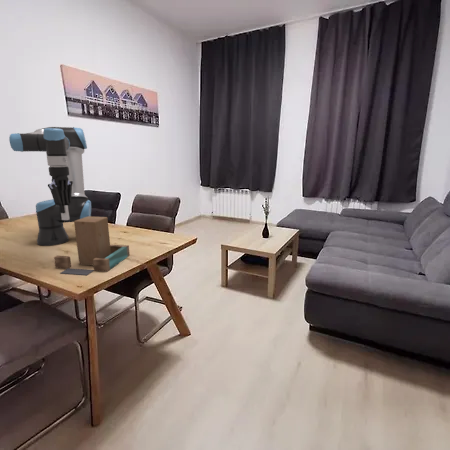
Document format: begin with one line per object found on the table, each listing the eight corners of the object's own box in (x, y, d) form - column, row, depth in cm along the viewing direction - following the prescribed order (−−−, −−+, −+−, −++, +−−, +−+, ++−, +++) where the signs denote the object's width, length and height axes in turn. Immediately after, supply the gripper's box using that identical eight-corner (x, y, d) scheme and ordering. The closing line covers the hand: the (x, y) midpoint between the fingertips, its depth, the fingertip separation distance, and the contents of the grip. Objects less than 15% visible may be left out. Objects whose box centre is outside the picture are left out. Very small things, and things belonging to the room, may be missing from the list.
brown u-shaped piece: (55, 268, 124) (53, 257, 122) (84, 252, 143) (83, 243, 142) (107, 271, 120) (106, 260, 119) (129, 255, 140) (128, 245, 138)
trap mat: (60, 273, 118) (60, 272, 118) (68, 268, 123) (68, 268, 123) (87, 275, 116) (86, 274, 116) (94, 270, 121) (94, 269, 121)
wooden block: (99, 266, 126) (94, 221, 121) (78, 264, 128) (73, 220, 123) (111, 258, 136) (107, 216, 131) (92, 256, 137) (87, 216, 132)
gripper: (55, 167, 116) (63, 223, 122) (76, 165, 129) (82, 216, 135) (38, 167, 117) (47, 222, 123) (60, 165, 130) (67, 216, 136)
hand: (65, 219), depth 129 cm, fingers closed
